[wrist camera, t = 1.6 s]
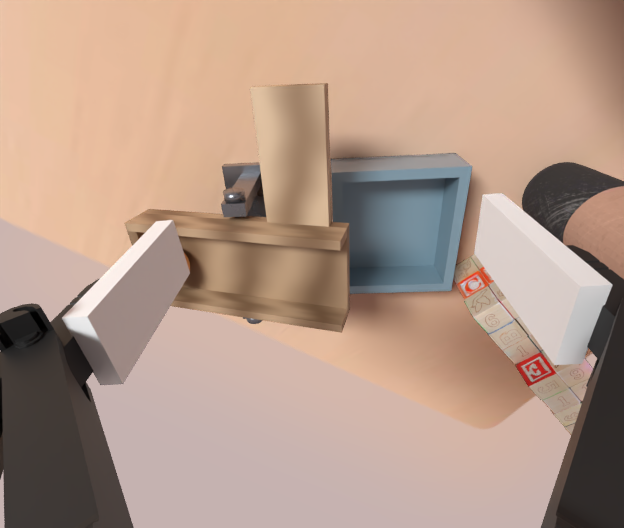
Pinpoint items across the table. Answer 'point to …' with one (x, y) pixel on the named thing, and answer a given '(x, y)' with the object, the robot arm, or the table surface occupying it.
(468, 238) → the table surface
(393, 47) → the table surface
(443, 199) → the tub
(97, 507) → the robot arm
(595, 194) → the travel mug
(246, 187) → the stand
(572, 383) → the stack of blocks
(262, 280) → the chute
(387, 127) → the table surface
